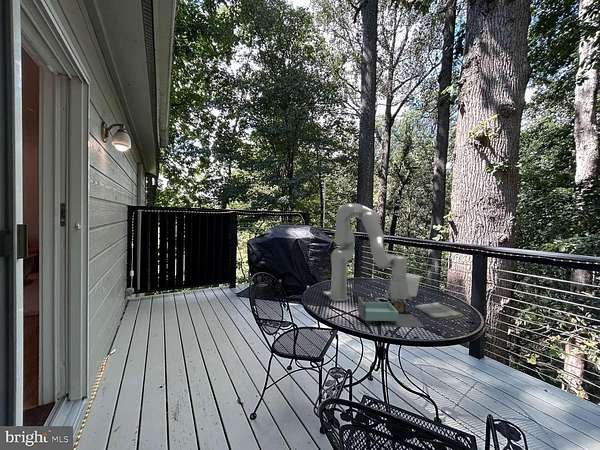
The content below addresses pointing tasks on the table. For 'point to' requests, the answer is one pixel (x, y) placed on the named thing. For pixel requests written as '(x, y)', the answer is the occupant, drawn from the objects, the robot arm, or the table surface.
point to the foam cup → (412, 284)
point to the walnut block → (398, 306)
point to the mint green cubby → (377, 311)
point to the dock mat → (405, 321)
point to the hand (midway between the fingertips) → (397, 309)
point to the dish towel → (438, 311)
